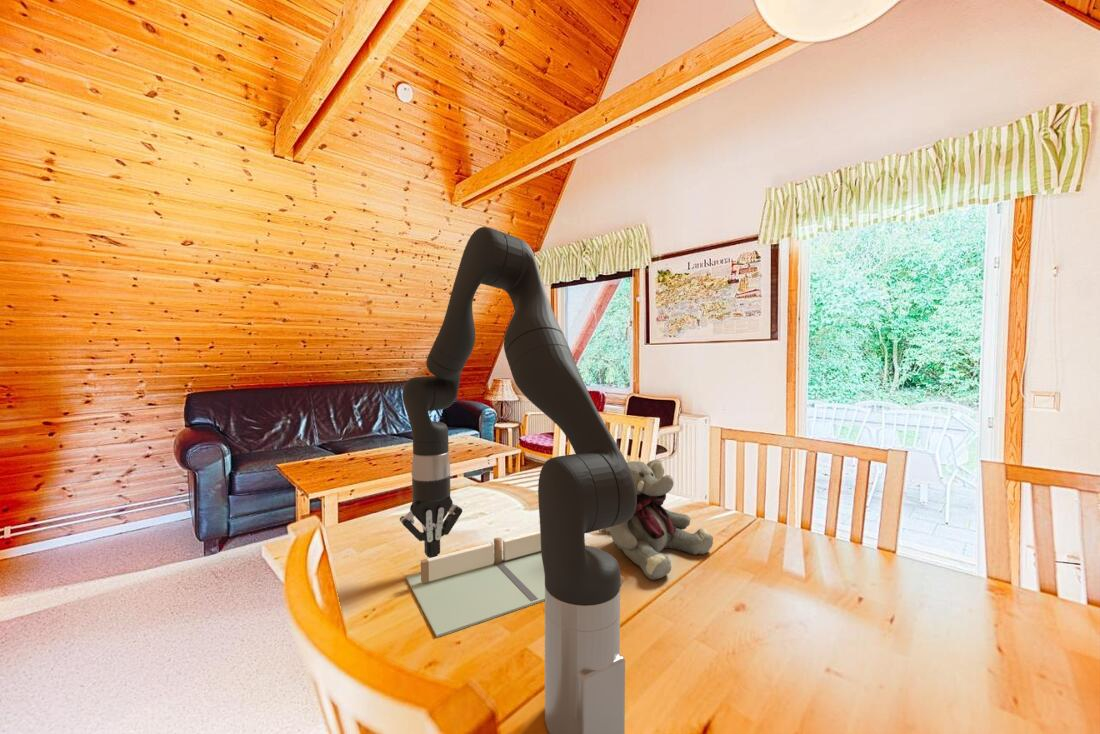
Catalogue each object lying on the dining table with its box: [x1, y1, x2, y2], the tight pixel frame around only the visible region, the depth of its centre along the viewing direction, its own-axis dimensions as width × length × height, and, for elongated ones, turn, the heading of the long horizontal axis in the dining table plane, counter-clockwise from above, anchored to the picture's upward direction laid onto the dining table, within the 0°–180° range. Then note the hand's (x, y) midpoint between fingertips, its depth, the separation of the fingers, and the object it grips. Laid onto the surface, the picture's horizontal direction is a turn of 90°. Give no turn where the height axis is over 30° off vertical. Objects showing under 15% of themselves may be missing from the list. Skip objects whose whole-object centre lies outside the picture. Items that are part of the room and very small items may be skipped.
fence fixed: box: [493, 530, 541, 564], centre depth 97 cm, size 2×16×6 cm, turn 121°
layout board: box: [405, 550, 545, 638], centre depth 88 cm, size 21×33×1 cm, turn 121°
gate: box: [420, 542, 494, 583], centre depth 89 cm, size 15×1×4 cm, turn 121°
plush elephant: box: [602, 459, 714, 581], centre depth 102 cm, size 27×22×21 cm
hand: (432, 556), depth 91 cm, fingers closed
